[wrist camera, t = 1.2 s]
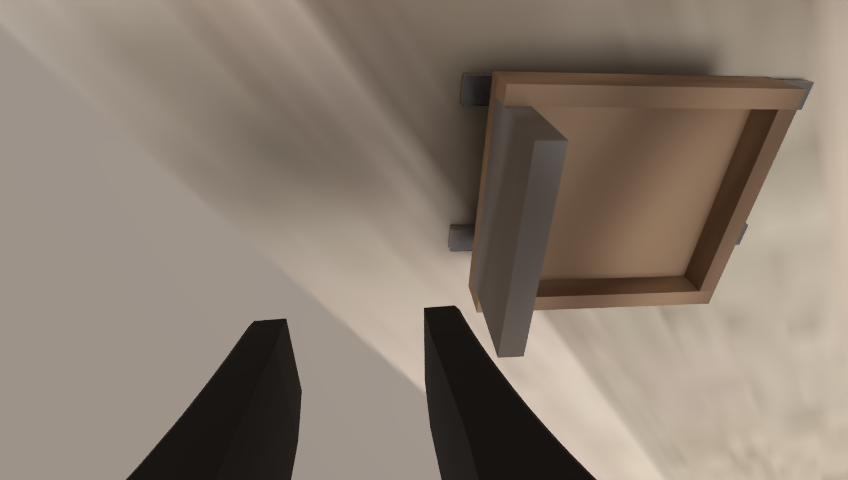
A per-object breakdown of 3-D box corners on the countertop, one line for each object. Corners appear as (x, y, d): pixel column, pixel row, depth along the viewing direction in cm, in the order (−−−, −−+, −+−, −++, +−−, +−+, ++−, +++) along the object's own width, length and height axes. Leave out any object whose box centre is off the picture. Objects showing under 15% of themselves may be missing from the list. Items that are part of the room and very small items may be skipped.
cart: (737, 67, 16) (898, 118, 11) (665, 259, 20) (760, 357, 16) (483, 61, 15) (539, 114, 10) (462, 265, 19) (495, 371, 14)
